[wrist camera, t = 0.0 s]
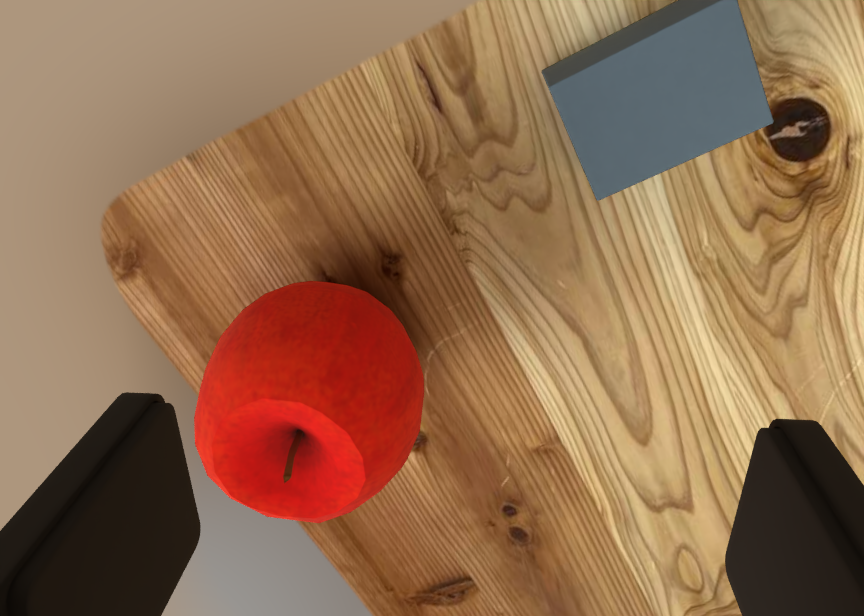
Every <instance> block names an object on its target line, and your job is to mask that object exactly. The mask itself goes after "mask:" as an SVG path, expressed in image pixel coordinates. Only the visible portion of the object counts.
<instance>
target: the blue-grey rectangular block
mask: <svg viewBox="0 0 864 616" xmlns="http://www.w3.org/2000/svg"><path fill="white" fill-rule="evenodd" d="M542 74H543V76H544V79H545V81H546V83H547V86H548V88H549V90H550V93H551V95H552V97H553V100H554V102H555V104H556V107H557V109H558V111H559V114H560V116H561V118H562V121H563V123H564V125H565V128H566V130H567V132H568V135H569V137H570V139H571V142H572V144H573V146H574V149H575V151H576V153H577V156H578V158H579V160H580V163H581V165H582V168H583V170H584V172H585V174H586V177H587V179H588V181H589V184H590V186H591V188H592V190H593V193H594V195H595V197H596V199H597V200H601V199H603V198H605V197H608V196H610V195H612V194H614V193H617V192H619V191H621V190H623V189H626V188H628V187H630V186H632V185H635V184H637V183H639V182H641V181H644V180H646V179H648V178H650V177H653V176H655V175H657V174H659V173H662V172H664V171H666V170H668V169H671V168H673V167H675V166H677V165H680V164H682V163H684V162H686V161H689V160H691V159H693V158H695V157H698V156H700V155H702V154H704V153H707V152H709V151H711V150H713V149H716V148H718V147H720V146H722V145H725V144H727V143H729V142H731V141H734V140H736V139H738V138H740V137H743V136H745V135H747V134H749V133H752V132H754V131H756V130H758V129H761V128H763V127H765V126H767V125H770V124H772V123H773V118H772V115H771V111H770V108H769V105H768V101H767V98H766V95H765V91H764V88H763V85H762V81H761V78H760V75H759V71H758V68H757V65H756V61H755V58H754V55H753V51H752V48H751V45H750V41H749V38H748V35H747V31H746V28H745V25H744V21H743V18H742V15H741V11H740V8H739V5H738V1H737V0H678V1H676V2H674V3H672V4H670V5H668V6H666V7H665V8H663V9H661V10H659V11H657V12H655V13H653V14H651V15H649V16H647V17H645V18H643V19H641V20H639V21H637V22H635V23H633V24H631V25H629V26H628V27H626V28H624V29H622V30H620V31H618V32H616V33H614V34H612V35H610V36H608V37H606V38H604V39H602V40H600V41H598V42H596V43H594V44H592V45H591V46H589V47H587V48H585V49H583V50H581V51H579V52H577V53H575V54H573V55H571V56H569V57H567V58H565V59H563V60H561V61H559V62H557V63H555V64H554V65H552V66H550V67H548V68H546V69H544V70H542Z"/></svg>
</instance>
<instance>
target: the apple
mask: <svg viewBox="0 0 864 616" xmlns="http://www.w3.org/2000/svg"><path fill="white" fill-rule="evenodd" d="M423 398H424V379H423V373H422V369H421V366H420V363H419V359H418V356H417V352H416V350H415V348H414V346H413V344H412V342H411V340H410V338H409V336H408V334H407V332H406V331H405V329H404V327H403V325H402V323H401V322H400V321H399V320H398V318H397V317H396V316H395V315H394V313H393V312H392V311H391V310H390V309H389V308H388V307H386V306H385V305H384V304H382V303H381V302H380V301H378V300H377V299H376V298H374V297H373V296H372V295H370V294H369V293H368V292H365V291H363V290H360V289H357V288H354V287H351V286H348V285H342V284H336V283H329V282H318V281H307V282H299V283H293V284H290V285H287V286H284V287H282V288H279V289H276V290H274V291H271V292H269V293H266V294H264V295H263V296H261V297H260V298H259V299H257V300H256V301H254V302H253V303H252V304H250V305H249V306H247V307H246V308H245V309H243V310H242V311H241V313H240V314H239V315H238V316H237V317H236V319H235V320H234V321H233V322H232V323H231V325H230V326H229V327H228V328H227V329H226V331H225V332H224V333H223V334H222V335H221V337H220V339H219V341H218V343H217V345H216V348H215V350H214V352H213V354H212V356H211V358H210V360H209V362H208V364H207V367H206V369H205V373H204V376H203V380H202V384H201V387H200V392H199V397H198V402H197V407H196V412H195V417H194V422H195V445H196V447H197V450H198V452H199V455H200V458H201V460H202V463H203V465H204V467H205V470H206V473H207V475H208V476H209V477H210V478H211V479H212V480H213V481H214V482H215V483H216V484H217V485H218V486H219V487H220V488H221V489H222V490H223V491H224V492H225V493H226V494H227V495H228V496H229V497H230V498H231V499H233V500H235V501H237V502H239V503H241V504H243V505H245V506H247V507H250V508H251V509H253V510H255V511H257V512H259V513H261V514H263V515H265V516H267V517H275V518H282V519H290V520H298V521H306V522H314V523H321V522H324V521H327V520H329V519H332V518H335V517H338V516H341V515H344V514H347V513H350V512H352V511H353V510H354V509H356V508H357V507H359V506H360V505H361V504H363V503H364V502H366V501H367V500H368V499H370V498H371V497H373V496H374V495H376V494H377V493H378V492H380V491H381V490H382V489H383V488H384V487H385V485H386V484H387V483H388V482H389V481H390V480H391V479H392V478H393V477H394V476H395V475H396V473H397V472H398V471H399V470H400V469H401V468H402V466H403V465H404V463H405V462H406V460H407V459H408V456H409V454H410V452H411V449H412V447H413V445H414V443H415V440H416V438H417V436H418V433H419V431H420V424H421V415H422V407H423Z"/></svg>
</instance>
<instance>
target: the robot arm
mask: <svg viewBox="0 0 864 616" xmlns="http://www.w3.org/2000/svg"><path fill="white" fill-rule="evenodd" d="M199 537H200V520H199V516H198V512H197V507H196V503H195V498H194V494H193V489H192V485H191V480H190V476H189V472H188V467H187V463H186V458H185V454H184V449H183V445H182V440H181V436H180V432H179V427H178V423H177V418H176V414H175V410H174V407H173V406H172V405H171V404H170V403H165V401H164V399H163V397H162V396H161V395H159V394H150V393H122V394H121V395H120V396H118V397H117V399H116V400H115V401H114V402H113V403H112V404H111V405H110V406H109V408H108V409H107V410H106V411H105V412H104V413H103V414H102V416H101V417H100V418H99V419H98V420H97V421H96V423H95V424H94V425H93V426H92V427H91V428H90V429H89V430H88V432H87V433H86V434H85V435H84V436H83V437H82V439H81V440H80V441H79V442H78V443H77V444H76V445H75V447H74V448H73V449H72V450H71V451H70V452H69V453H68V454H67V456H66V457H65V458H64V459H63V460H62V461H61V462H60V463H59V465H58V466H57V467H56V468H55V469H54V470H53V472H52V473H51V474H50V475H49V476H48V477H47V478H46V480H45V481H44V482H43V483H42V484H41V485H40V486H39V487H38V489H37V490H36V491H35V492H34V493H33V494H32V496H31V497H30V498H29V499H28V500H27V501H26V502H25V503H24V505H23V506H22V507H21V508H20V509H19V510H18V511H17V513H16V514H15V515H14V516H13V517H12V518H11V519H10V521H9V522H8V523H7V524H6V525H5V526H4V527H3V528H2V530H1V531H0V616H161V615H162V613H163V611H164V609H165V607H166V605H167V603H168V601H169V599H170V597H171V595H172V593H173V591H174V589H175V588H176V586H177V583H178V582H179V579H180V578H181V576H182V574H183V572H184V570H185V568H186V566H187V564H188V562H189V560H190V558H191V556H192V554H193V553H194V551H195V549H196V546H197V544H198V541H199ZM725 564H726V572H727V576H728V579H729V582H730V585H731V587H732V590H733V592H734V595H735V598H736V600H737V603H738V605H739V608H740V611H741V613H742V616H864V485H863V484H862V482H861V481H860V480H859V478H858V477H857V475H856V474H855V473H854V471H853V470H852V468H851V467H850V465H849V464H848V463H847V461H846V460H845V458H844V457H843V456H842V454H841V453H840V451H839V450H838V449H837V447H836V446H835V444H834V443H833V442H832V440H831V439H830V437H829V436H828V435H827V433H826V432H825V430H824V429H823V428H822V426H821V425H820V424H819V423H818V422H816V421H813V420H791V419H775V420H773V421H772V422H771V424H770V426H769V428H761V429H760V430H759V431H758V433H757V436H756V440H755V444H754V448H753V451H752V455H751V459H750V463H749V467H748V471H747V474H746V478H745V482H744V486H743V490H742V493H741V497H740V501H739V505H738V509H737V512H736V516H735V520H734V524H733V528H732V532H731V535H730V539H729V543H728V547H727V551H726V556H725Z"/></svg>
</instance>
